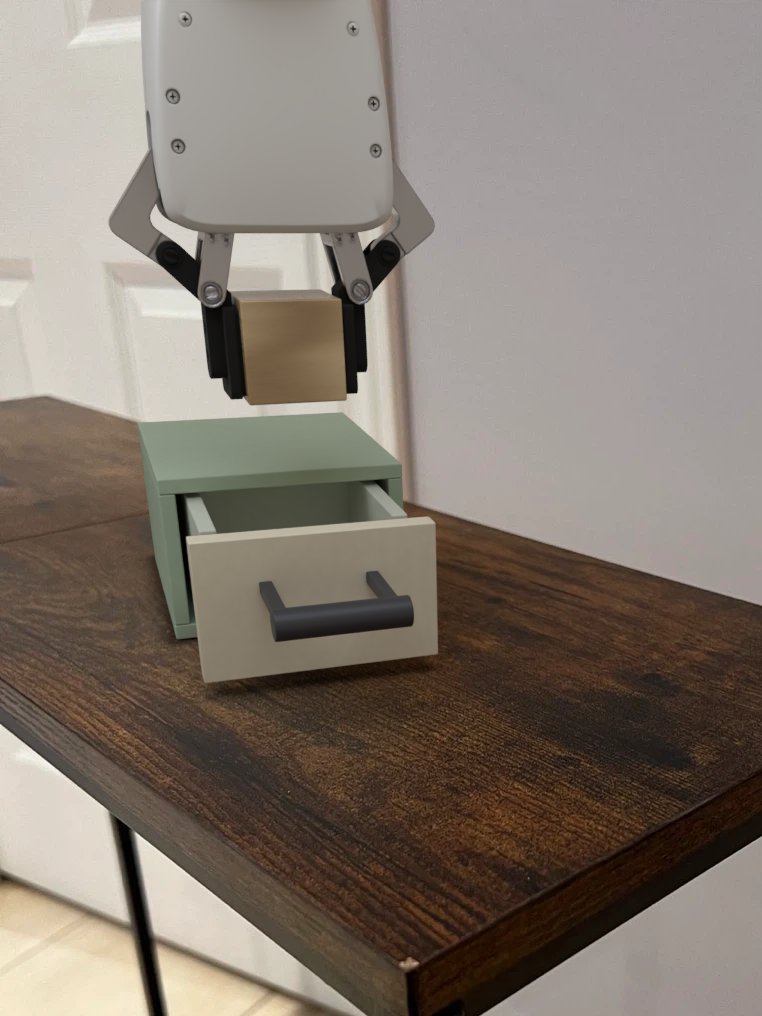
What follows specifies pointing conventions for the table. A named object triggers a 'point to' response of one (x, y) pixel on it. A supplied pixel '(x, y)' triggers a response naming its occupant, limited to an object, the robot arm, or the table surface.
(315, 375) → the block
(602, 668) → the table surface
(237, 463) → the cabinet
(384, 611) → the drawer
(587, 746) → the table surface
